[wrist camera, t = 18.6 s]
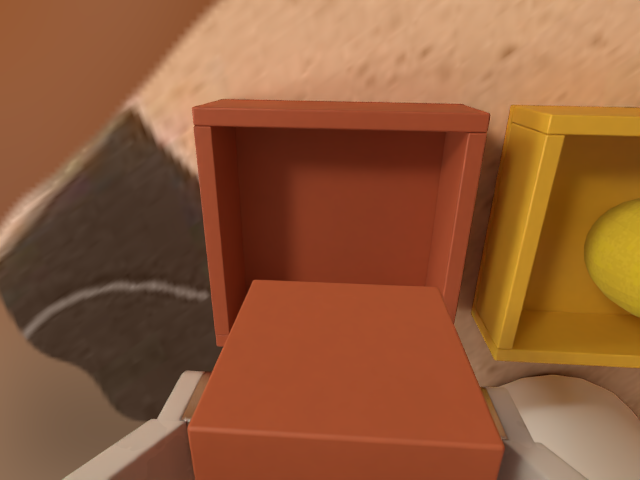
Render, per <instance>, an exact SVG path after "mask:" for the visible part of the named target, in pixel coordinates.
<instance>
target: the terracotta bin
mask: <svg viewBox="0 0 640 480" xmlns="http://www.w3.org/2000/svg"><path fill="white" fill-rule="evenodd" d="M192 114H193V123H194V125H195V126H194V136H195V145H196V155H197V164H198V174H199V183H200V193H201V202H202V212H203V221H204V231H205V240H206V249H207V259H208V268H209V278H210V287H211V297H212V306H213V316H214V325H215V334H216V341H217V346H224V344H225V342H226V340H227V338H228V336H229V333H230V331H231V329H232V327H233V324H234V322H235V320H236V318H237V315H238V313H239V311H240V309H241V306H242V304H243V302H244V300H245V297H246V295H247V293H248V291H249V288H250V286H251V284H252V282H253V280H274V281H299V282H323V283H348V284H373V285H398V286H423V287H438V288H439V290H440V293H441V295H442V297H443V300H444V302H445V305H446V307H447V309H448V312H449V314H450V317H451V319H452V321H453V324H454V322H455V316H456V310H457V304H458V299H459V293H460V287H461V281H462V276H463V270H464V264H465V258H466V253H467V247H468V241H469V235H470V230H471V224H472V218H473V212H474V207H475V201H476V195H477V189H478V184H479V178H480V172H481V166H482V161H483V155H484V149H485V143H486V138H487V133H486V132H487V131H488V125H489V120H490V114H489V113H487V112H484V111H481V110H478V109H475V108H471V107H468V106H465V105H463V104H432V103H383V102H333V101H284V100H235V99H221V100H218V101H214V102H210V103H206V104H203V105H199V106H195V107H192Z"/></svg>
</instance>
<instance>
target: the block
mask: <svg viewBox="0 0 640 480" xmlns="http://www.w3.org/2000/svg"><path fill="white" fill-rule="evenodd" d="M187 432H188V439H189V445H190V451H191V457H192V464H193V470H194V476H195V480H497V477H498V474H499V470H500V466H501V462H502V458H503V455H504V451H505V446H504V444H503V441H502V439H501V436H500V434H499V432H498V429H497V427H496V424H495V422H494V420H493V417H492V415H491V413H490V410H489V408H488V405H487V403H486V401H485V398H484V396H483V393H482V391H481V389H480V386H479V384H478V381H477V379H476V377H475V374H474V372H473V369H472V367H471V365H470V362H469V360H468V357H467V355H466V353H465V350H464V348H463V345H462V343H461V341H460V338H459V336H458V333H457V331H456V329H455V326H454V324H453V321H452V319H451V317H450V314H449V312H448V309H447V307H446V305H445V302H444V300H443V297H442V295H441V293H440V290H439V288H438V287H423V286H398V285H373V284H348V283H323V282H299V281H274V280H253V282H252V284H251V286H250V288H249V291H248V293H247V295H246V297H245V300H244V302H243V304H242V306H241V309H240V311H239V313H238V315H237V318H236V320H235V322H234V324H233V327H232V329H231V331H230V333H229V336H228V338H227V340H226V342H225V344H224V347H223V349H222V351H221V353H220V356H219V358H218V360H217V362H216V365H215V367H214V369H213V371H212V374H211V376H210V378H209V380H208V383H207V385H206V387H205V389H204V392H203V394H202V396H201V398H200V401H199V403H198V405H197V407H196V409H195V412H194V414H193V416H192V418H191V421H190V423H189V425H188V428H187Z"/></svg>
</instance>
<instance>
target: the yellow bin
mask: <svg viewBox="0 0 640 480" xmlns="http://www.w3.org/2000/svg"><path fill="white" fill-rule="evenodd" d="M638 198H640V108H629V107H580V106H530V105H511V107H510V113H509V118H508V123H507V128H506V134H505V139H504V144H503V149H502V155H501V160H500V165H499V170H498V175H497V181H496V186H495V191H494V196H493V202H492V207H491V212H490V217H489V222H488V228H487V233H486V238H485V243H484V249H483V254H482V259H481V264H480V269H479V275H478V280H477V285H476V290H475V296H474V301H473V306H472V311H471V315H472V317H473V318H474V320H475V322H476V324H477V326H478V328H479V330H480V332H481V334H482V336H483V338H484V340H485V342H486V344H487V346H488V348H489V350H490V352H491V354H492V356H493V358H494V360H496V361H513V362H532V363H551V364H571V365H590V366H609V367H629V368H640V318H639V317H636V316H634V315H633V314H631V313H629V312H627V311H626V310H624V309H623V308H621V307H620V306H618V305H617V304H615V303H614V302H613V301H611V300H610V299H609V298H607V297H606V296H605V295H604V294H603V292H602V291H601V290H600V289H599V288H598V286H597V285H596V284H595V283H594V281H593V280H592V278H591V277H590V275H589V273H588V270H587V267H586V264H585V261H584V244H585V240H586V237H587V234H588V232H589V230H590V229H591V227H592V225H593V224H594V223H595V222H596V221H597V219H598V218H599V217H600V216H601V215H603V214H604V213H605V212H607V211H608V210H609V209H611V208H613V207H615V206H617V205H619V204H621V203H623V202H626V201H630V200H634V199H638Z"/></svg>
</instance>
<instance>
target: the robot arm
mask: <svg viewBox="0 0 640 480" xmlns="http://www.w3.org/2000/svg"><path fill="white" fill-rule="evenodd" d="M211 374H212V372H206V371H205V372H201V371H188V370H186V371H185V372H184V373H182V374H181V376H180V378H179V380H178V382H177V384H176V385H175V387H174V389H173V391H172V393H171V395H170V396H169V398H168V400H167V402H166V404H165V405H164V407H163V409H162V411H161V413H160V415H159V416H158V418H157V419H151V420H149V421H148V422H146V423H145V424H143V425H142V426H140V427H139V428H137V429H136V430H134V431H133V432H131V433H130V434H129V435H127V436H125V437H124V438H123V439H121V440H120V441H118V442H117V443H115V444H114V445H112V446H111V447H109V448H108V449H106V450H105V451H103V452H102V453H100V454H99V455H98V456H96V457H95V458H93V459H92V460H90V461H89V462H87V463H86V464H84V465H83V466H81V467H80V468H78V469H77V470H76V471H74V472H72V473H71V474H70V475H68V476H67V477H65V478H64V479H62V480H195V476H194V470H193V464H192V457H191V451H190V445H189V439H188V432H187V428H188V425H189V423H190V421H191V418H192V416H193V414H194V412H195V409H196V407H197V405H198V403H199V401H200V398H201V396H202V394H203V392H204V389H205V387H206V385H207V383H208V380H209V378H210V376H211ZM480 389H481V391H482V393H483V396H484V398H485V401H486V403H487V405H488V408H489V410H490V413H491V415H492V417H493V420H494V422H495V424H496V427H497V429H498V432H499V434H500V436H501V439H502V441H503V444H504V446H505V451H504V455H503V458H502V462H501V466H500V470H499V474H498V477H497V480H588V479H587V478H586V477H584V476H583V475H582V474H580V473H579V472H578V471H577V470H575V469H574V468H573V467H571V466H570V465H569V464H568V463H566V462H565V461H564V460H562V459H561V458H560V457H559V456H557V455H556V454H555V453H554V452H552V451H551V450H550V449H548V448H547V447H546V446H545V445H543V444H542V443H539V442H534V441H533V439H532V437H531V435H530V433H529V431H528V429H527V427H526V425H525V423H524V421H523V419H522V417H521V415H520V413H519V411H518V409H517V407H516V405H515V403H514V401H513V399H512V398H511V396H510V394H509V392H508V390H507V389H506V388H504V387H480Z"/></svg>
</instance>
